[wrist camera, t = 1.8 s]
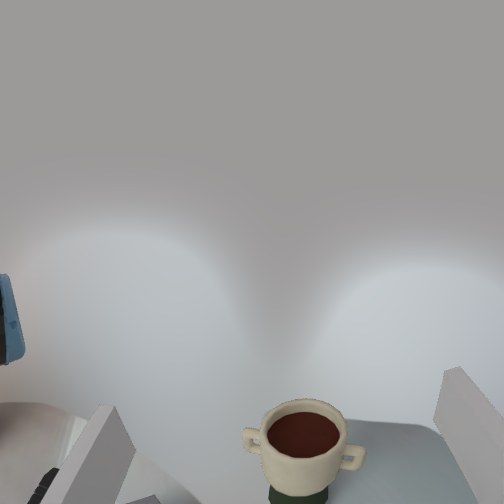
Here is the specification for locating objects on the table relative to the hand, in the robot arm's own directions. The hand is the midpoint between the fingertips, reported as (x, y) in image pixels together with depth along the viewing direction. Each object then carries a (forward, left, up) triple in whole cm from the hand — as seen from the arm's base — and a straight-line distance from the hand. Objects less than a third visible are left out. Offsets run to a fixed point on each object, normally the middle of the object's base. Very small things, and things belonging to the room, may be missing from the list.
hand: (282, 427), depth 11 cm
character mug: (-6, +7, -24) cm, 26 cm away
